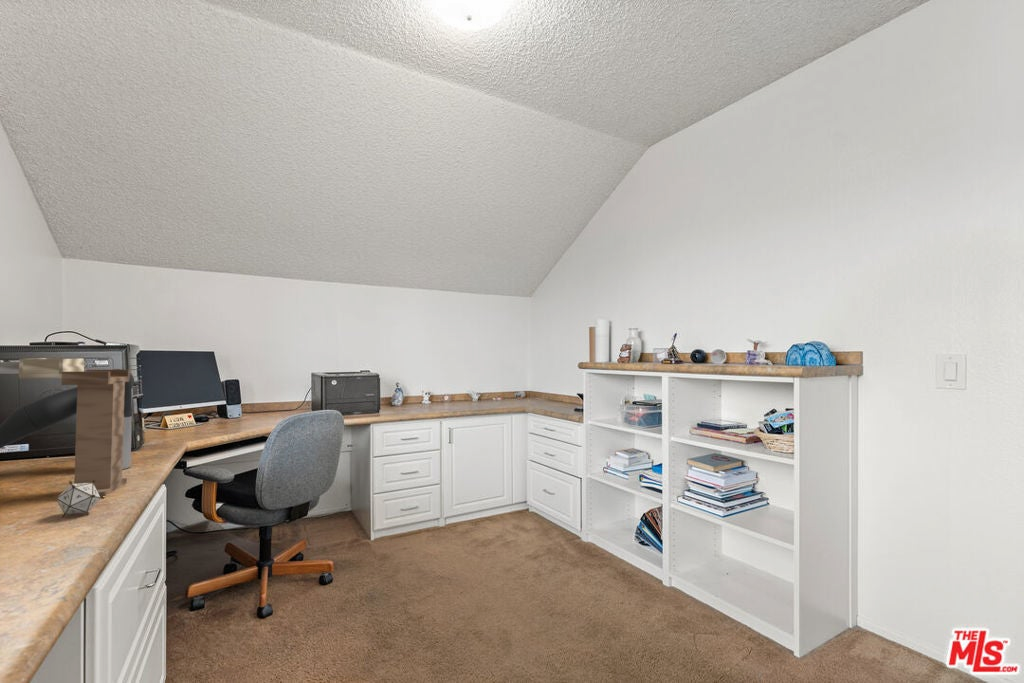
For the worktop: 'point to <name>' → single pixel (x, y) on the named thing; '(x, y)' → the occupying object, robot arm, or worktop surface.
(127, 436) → the robot arm
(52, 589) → the worktop surface
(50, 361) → the tray
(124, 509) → the worktop surface
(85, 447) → the stand
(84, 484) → the game die
